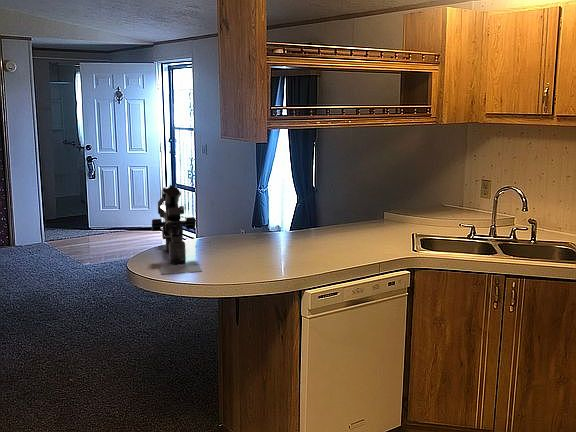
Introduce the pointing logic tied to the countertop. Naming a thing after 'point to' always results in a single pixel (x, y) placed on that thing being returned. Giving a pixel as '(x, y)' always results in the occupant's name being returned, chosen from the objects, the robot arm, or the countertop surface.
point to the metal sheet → (180, 269)
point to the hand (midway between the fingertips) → (175, 240)
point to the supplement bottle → (177, 250)
